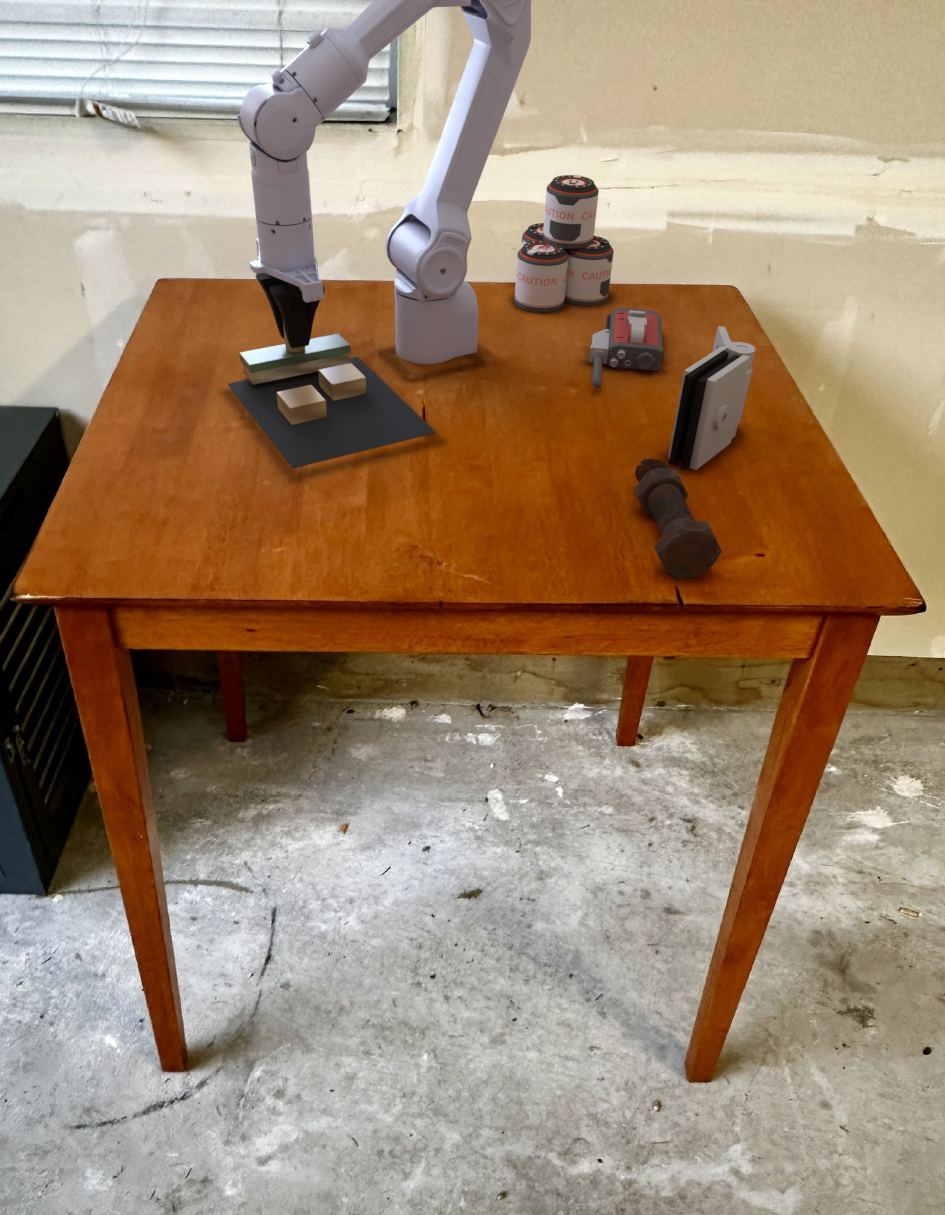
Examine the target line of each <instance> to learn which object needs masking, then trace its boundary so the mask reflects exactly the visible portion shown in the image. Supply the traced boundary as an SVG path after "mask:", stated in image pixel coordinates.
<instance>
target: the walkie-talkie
mask: <svg viewBox="0 0 945 1215" xmlns="http://www.w3.org/2000/svg"><path fill="white" fill-rule="evenodd" d="M662 331H663V328H662V315H660V314H659V313H658V312H656V311H655V310H653V309H640V308H629V307H618V308H615V309H613V310H611V311H610V314H608V315H607V316H606V320H605V328H604V329H602V330H599V331H597V332H595V333H593V334H592V338H591V345H590V346H589V355H588V362H589V363H592V364H593V368H592V380H591V385H592V386H593V387H594V388H596V389H599V388H600V387H601V386H602V373H603V372H602V371H603V365H604V364H605V365H606V366H608V367H609V368H612V369H624V370H635V371H648V372H649V371H650V372H656V371H659V370H661V364H662V362H663V359H664V343H663V332H662Z"/></svg>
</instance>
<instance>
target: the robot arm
mask: <svg viewBox="0 0 945 1215" xmlns="http://www.w3.org/2000/svg"><path fill="white" fill-rule="evenodd" d="M451 7H452V8H454V7H455V8H456V7H457V8H460V9H461V11H462V13H463V16H464V18H465V20H466V23H467V25H468V28H469V31H470V34H471V35H472V37H473V45H472V47H471V51H470V52H469V56H468V59H467V61H466V65H465V66H464V70H463V72H462V76H461V79H460V80H459V81H460V82H459V84H458V87H457V90H456V93H455V96H454V99H453V102H452V104H451V107H450V110H449V112H448V115H447V119H446V122H445V124H444V127H443V130H442V132H441V136H440V138H439V142H438V145H437V148H436V150H435V153H434V156H433V159H432V161H431V165H430V167H429V170H428V173H427V176H426V178H425V181H424V185H423V188H422V190H421V191H420V193H418V195H416V196H415V197H413V198H412V199H410V200H409V201H408V202H407V203H406V205H405V208H404V211H403V213H402V215H401V217H400V218H399V220H398V221H397V222H396V223H395V224H394V225H393V226H392V227H391V229H390V230H389V232H388V234H387V237H386V240H385V253H386V256H387V259H388V261H389V263H390V264H391V265H392V266H393V267H394V268H395V279H394V315H395V316H394V323H395V324H394V325H395V326H394V328H395V353H396V356H398V358H400V359H401V360H403V361H406V362H408V363H412V364H417V365H435V364H441V363H445V362H447V361H449V360H452V359H454V358H459V357H462V356H467V355H472V354H476V353H478V343H479V342H478V340H479V339H478V337H479V315H480V314H479V313H480V311H479V304H478V299H477V294H476V292H475V290H474V288H473V287H472V286H471V284H470V283H469V282H467V281H466V280H465V279H466V276H467V273H468V252H469V248H470V244H471V242H472V232H471V226H470V222H469V217H468V216H469V215H468V211H469V208H470V206H471V204H472V200H473V198H474V195H475V193H476V190H477V187H478V185H479V182H480V180H481V177H482V175H483V171H484V169H485V166H486V164H487V161H488V158H489V155H490V152H491V150H492V148H493V145H494V142H495V139H496V136H497V134H498V132H499V128H500V126H501V123H502V121H503V118H504V115H505V113H506V110H507V108H508V104H509V101H510V99H511V96H512V94H513V91H514V88H515V87H516V83H517V81H518V78H519V76H520V73H521V70H522V67H523V65H524V62H525V59H526V56H527V54H528V51H529V48H530V44H531V40H532V0H372V1H371V3H370V4H369V5H368V6H366V8H365V9H364V10H363V11H361V13H360V14H359V15H358V16H357V17H356V18H355V19H354V20H353V21H352V22H351V23H350V24H349V25H348V27H346V28H345V29H339V28H335V27H334V28H333V27H327V28H325V29H324V30H323V31H322V32H321V33H320V32H318V31H316V30H312V32H310V33H309V34H308V36H306V37H305V42H306V43H307V46H305V48H304V49H303V50H302V51H301V52H299V54H297V55H296V56H295V57H294V58H293V59H292V60H291V61H290V62H289V63H288V64H286V65H285V67H283V69H281V70H279V69H277V68H275V69H274V70H272V72H271V73H270V74H269V79H270V80H271V83H265V84H258V85H256V86H254V87H252V88H251V89H250V90H249V91H248V92H247V93H246V94H245V96H244V97H243V99H242V106H240V111H239V114H237V123H238V125H239V128H240V130H241V132H242V133H243V135H244V137H245V138H247V139H248V140H249V143H248V145H249V155H250V165H251V166H250V167H251V168H250V175H251V183H252V184H251V185H252V193H253V194H252V195H253V204H254V214H255V221H256V231H257V238H255V245H256V253H257V257H258V259H256V260H252V261H249V269H250V270H251V271H252V272H253V273H254V274H255V279H256V280H257V282H258V283H259V285H260V286H261V289H262V290H263V292H264V293H265V296H266V298H267V300H268V303H269V306H270V308H271V311H272V314H273V317H274V321H275V324H276V327H277V330H278V333H279V334H280V337H281V338H282V339H283V340H285V338H284V328H285V333H286V337H287V340H288V343H289V345H290V347H291V348H298V347H303V346H308V345H309V342H310V339H312V338H311V337H312V331H313V326H314V320H315V315H316V313H317V309H318V308H319V304H320V302H321V301H322V300H323V301H324V299H325V297H324V296H325V291H326V290H325V286H324V282H323V280H321V278H320V276H319V268H318V258H317V256H316V255H315V241H314V227H313V226H314V225H313V214H312V212H313V211H312V200H311V185H310V184H311V183H310V171H309V167H308V151H309V150H310V149H311V147H312V146H313V143H314V141H315V136H316V131H317V130H316V129H317V127H318V126H319V125H321V124H322V123H323V122H324V121H325V120H326V119H327V118H328V117H330V116H331V115H332V114H333V113H334V112H335V111H337V109H338V108H340V106H341V105H342V104H343V103H345V101H347V100H348V99H349V98H350V97H351V96H352V95H353V94H354V93H356V92H357V91H358V90H359V89H360V87H362V86H363V85H364V84H365V83H366V82H367V79H368V73H369V72H368V71H369V64H370V61H371V60H372V59H373V58H374V57H375V56H377V54H379V53H380V52H381V51H383V50H384V49H385V48H386V47H388V46H389V45H390V44H391V43H392V42H393V41H394V40H396V39H397V38H398V37H400V35H402V34H404V32H405V31H406V30H408V29H409V28H410V27H411V26H412V25H414V24H415V23H416V22H418V21H419V20H420V19H421V18H422V17H423V16H425V15H426V14H427V13H428V12H430V11H431V10H432V9H434V8H451ZM283 323H284V328H283Z"/></svg>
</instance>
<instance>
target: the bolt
mask: <svg viewBox="0 0 945 1215" xmlns="http://www.w3.org/2000/svg"><path fill="white" fill-rule="evenodd" d="M639 463H640V464H638V465H637V466H636V467H635V471H634V474H635V475H634V476H635V478H636V480H637V485H636V487H635V488H634V492H635V494H636V497H637V500H638V501H639V503H640V505H641V508H642V509H643V510H644V512H645V515H646V516H650V517H653V518H654V520H655V524H656V526H657V529H658V530H659V533H660V535H661V537H660V538H659V539H658V541H656V543H655V544H654V545H653V548H654V550H655V552H656V554H657V556H658V558H659V560H660V562H661V564H662V566H663V568H664V570H665V572H666V574H667V575H668V577H671V578H677V579H692V578H696V577H699V576H702V575H704V574H705V573H707V572H708V571H709V570H710V569H711V568H712V567H713V566H714V565H715V564H716V563H717V561H718V560H719V557H720V556H721V553H722V548H721V545H720V544H719V542H718V539H717V537H716V535H715V533H714V531H713V530H712V527H711V526H710V523H709V522H708V520H695V519H694V517H693V514H692V512H691V510H690V508H689V506H688V504H687V502H686V500H687V498H688V496H689V493H688V491H687V489H686V487H685V486H686V485H685V484H684V483H683V480H682V478H681V476H680V474H679V472H678V470H677V469H675V468H669V467H668V464H667V463H666V462H665V461H663V460H661V459H656V458H651V457H650V458H647V457H645V458H644V459H642V460H641V461H640V462H639Z"/></svg>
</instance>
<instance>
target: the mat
mask: <svg viewBox="0 0 945 1215" xmlns="http://www.w3.org/2000/svg"><path fill="white" fill-rule="evenodd" d="M349 363H352V364H353V365H354V366H355V367H356V368H357V369H358V370H359V371H360V372H361V373H362V374H363V375H364V376H365V377H366V394H363V395H358V396H354V397H349V398H345V399H340V400H336V401H333V400H332V399H331V398H330V397H329V396H328V395H327V394H326V393H325V391H324V390H323V389H322V388H321V387H320V386H319V374H318V371H317V372H313V373H308V374H303V375H298V376H293V377H288V378H284V379H279V380H274V381H269V382H264V383H260V384H255V385H253V384H252V383H251V381H250V380H249V379H248V378H247V379H243V380H239V381H233V382H228V383H227V386H228V387H229V388H230V390H231V391H232V392H233V394H234V395H235V396H236V398H238V400H239V401H240V402H241V403H242V405H243V406H244V407H245V409H246V410H247V411H248V413H249V414H250V415H251V416H252V418H253V419H254V420H255V421H256V423H257V424H258V426H259V428H261V429H262V430H263V432H264V433H265V434H266V435H267V437H268V439H270V441H271V442H272V443H273V445H274V446H275V447H276V448H277V450H278V451H279V453H280V454H281V455H282V456H283V458H284V459H285V460H286V461H287V463H288V464H289V465H290V467H291V468H292V469H296V468H301V467H305V466H308V465H313V464H316V463H320V462H325V461H328V460H333V459H336V458H340V457H345V456H349V455H353V454H356V453H360V452H365V451H367V450H372V449H376V448H377V449H378V448H380V447H381V448H382V447H385V446H389V445H392V444H397V443H401V442H404V441H408V440H413V439H416V438H420V437H424V436H429V435H433V434H436V433H437V432H436V431H435V430H434V429H433V428H432V427H431V426H430V425H429V424H428V423H427V421H425V420H424V419H423V418H422V417H421V416H420V415H419V414H418V413H417V412H415V410H414V409H412V407H410V405H408V404H407V402H406V401H404V400H403V399H402V397H400V396H399V394H397V393H396V392H395V391H394V390H393V389H392V388H391V387H390V386H389V385H388V384H387V383H386V382H385V381H384V380H383V379H382V378H381V377H380V376H379V375H377V374H376V373H375V372H374V371H373V369H371V368H370V366H368V365H367V364H366V363H365V362H364V361H363V360H362V359H361V358H360V357H359V356H355V357H349ZM308 385H312V386H313V387H314V388H315V389H316V390H317V391H318V392H319V394H320V395H321V396H322V397H323V398H324V399H325V400H326V412H327V417H325V418H320V419H316V420H312V421H307V422H303V423H299V424H294V425H291V423H290V422H289V421H288V420H287V419H286V417H285V416H284V415H283V414H282V413H281V411H280V410H279V409H278V401H277V392H280V391H284V390H289V389H294V388H298V387H303V386H308Z"/></svg>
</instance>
